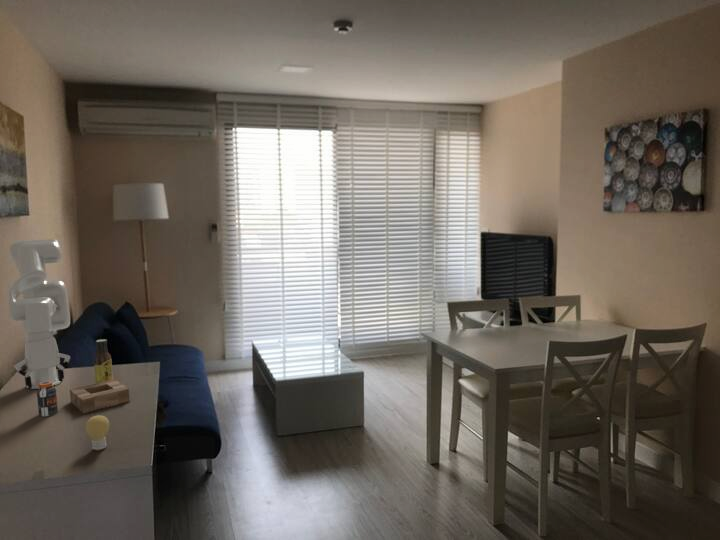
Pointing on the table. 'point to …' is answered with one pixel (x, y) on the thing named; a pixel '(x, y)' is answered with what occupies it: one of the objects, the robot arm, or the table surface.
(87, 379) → the table surface
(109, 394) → the socket block
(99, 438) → the light bulb
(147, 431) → the table surface
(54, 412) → the pill bottle
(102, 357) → the sauce bottle
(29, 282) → the robot arm
